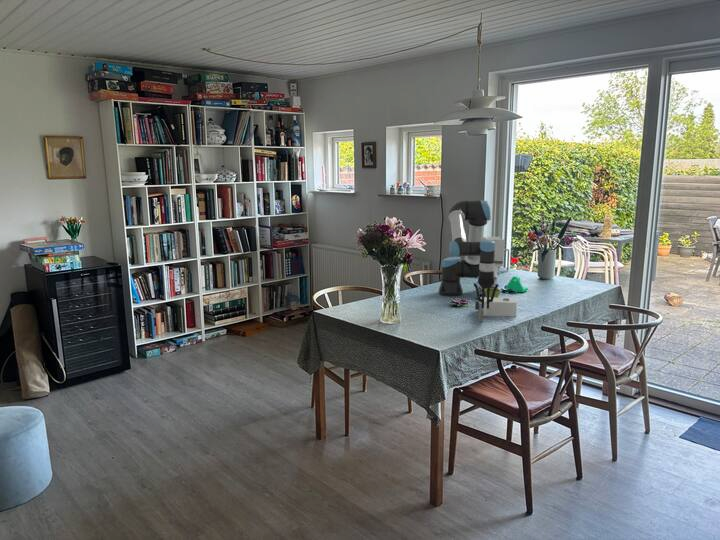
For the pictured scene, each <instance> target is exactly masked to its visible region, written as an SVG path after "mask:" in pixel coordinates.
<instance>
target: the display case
mask: <svg viewBox="0 0 720 540" xmlns="http://www.w3.org/2000/svg"><path fill="white" fill-rule="evenodd" d="M484 240H490V241H494V242H495V256H494V270H493V271H494V281H495V283H497V282H498V281H497V279H498V275H497V273H498V271H499V269H498V266H500V267H503V266H504V256H505V255H504V254H505V251H504V249H505V245H506V239H501V236H483V241H484ZM491 288H494V284H493V285H492V286H491ZM485 289H486V288H485ZM497 289H499V288H498V287H497ZM478 290H479V292H480V293H482V287H481V286H480V285H479V284H478ZM484 294H485V292H484Z"/></svg>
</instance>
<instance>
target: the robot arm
mask: <svg viewBox="0 0 720 540" xmlns="http://www.w3.org/2000/svg"><path fill="white" fill-rule="evenodd" d="M491 215H492V213H491V205H490V202H489V201H488V200H460V201H457V202H456V203H454V204H453V205H452V206H451V207H450V208H449V210H448V215H447V219H448V221H449V222H450V228H451V230H450V231H451V238H452V239H451V240H452V241H450V242H449V246H448V247H449V255H450V257H446V258H444V259H443V260H442V262H441V283H440V286H439V288H438V294H439V295H442V296H446V297H459V296H462V295H463V288H462V283H461V279H462V278H464V279H465V278H467V279H470V278H472V279H478V280H477V281H476V282H473V287H474V288H475V291H476V296H477V301H479V302H481V303H482V306H481V307H482V309H484V312H483V314H484V315H487V309H489V303H490V302H493V299H494V295H495V292H496V289H497V288H498V287H499V285H500V284H499V283H498V282H496V283H495V281H494V271H493V270H494V256H495V242H494V241H490V240H484V241H483V237H484V233H485V226H486V225H487V224H488V222H489V221H491ZM465 221H467V224H468V225H469V231H468V241H467V235H466V226H465ZM461 257H464V259H462V258H461ZM493 284H494V289H493V292H492V295H491V299H489V294H490V288H491V286H492V285H493ZM479 285H480V286H481V287H482V292H481V296H480V290H479V289H478V286H479ZM485 288H487V302H484V297H485V293H484V292H485ZM480 297H482V299H480Z"/></svg>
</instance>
